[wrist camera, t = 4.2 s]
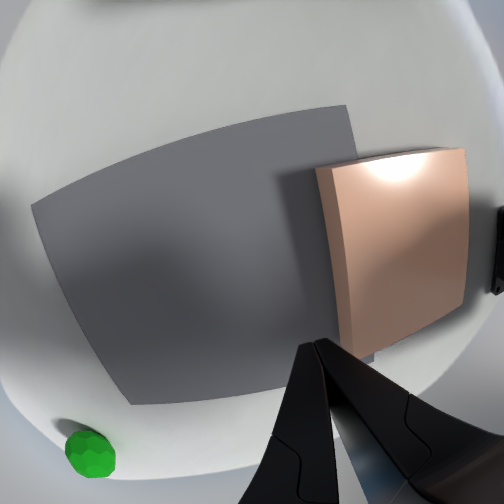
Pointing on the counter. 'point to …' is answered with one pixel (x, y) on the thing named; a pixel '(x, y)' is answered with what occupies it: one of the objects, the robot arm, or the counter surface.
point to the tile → (396, 242)
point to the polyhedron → (90, 454)
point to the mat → (203, 257)
